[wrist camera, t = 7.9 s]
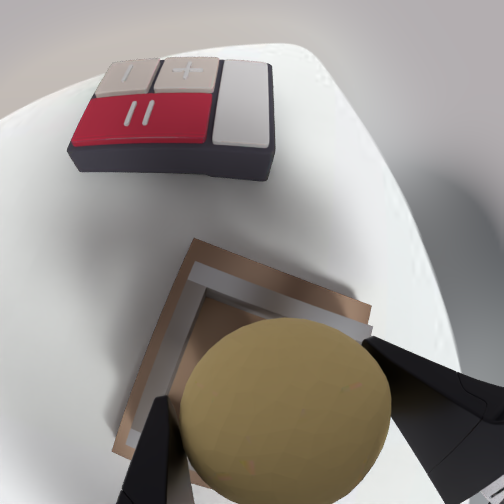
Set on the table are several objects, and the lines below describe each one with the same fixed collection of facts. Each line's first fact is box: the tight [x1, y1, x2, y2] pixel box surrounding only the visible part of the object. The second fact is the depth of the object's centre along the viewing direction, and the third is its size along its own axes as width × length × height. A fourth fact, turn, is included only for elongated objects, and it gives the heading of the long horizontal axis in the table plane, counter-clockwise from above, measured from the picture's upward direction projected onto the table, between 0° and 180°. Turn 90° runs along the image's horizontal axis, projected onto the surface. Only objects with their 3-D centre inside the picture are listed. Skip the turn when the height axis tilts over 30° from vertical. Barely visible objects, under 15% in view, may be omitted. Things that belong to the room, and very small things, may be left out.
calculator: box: [67, 57, 275, 181], centre depth 21 cm, size 11×4×15 cm
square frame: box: [112, 238, 373, 489], centre depth 14 cm, size 12×14×4 cm
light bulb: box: [179, 317, 391, 504], centre depth 10 cm, size 6×6×10 cm
